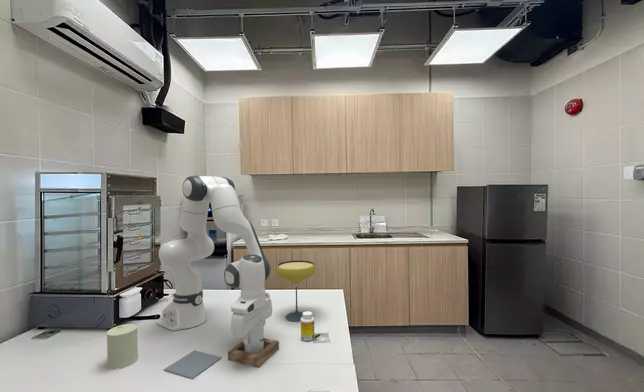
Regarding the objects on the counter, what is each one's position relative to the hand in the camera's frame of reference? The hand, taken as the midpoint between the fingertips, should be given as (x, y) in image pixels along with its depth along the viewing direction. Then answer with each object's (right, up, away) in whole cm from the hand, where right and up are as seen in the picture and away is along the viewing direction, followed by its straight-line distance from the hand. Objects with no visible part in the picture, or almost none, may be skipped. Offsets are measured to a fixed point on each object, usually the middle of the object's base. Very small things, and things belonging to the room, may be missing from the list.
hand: (254, 337), depth 108 cm
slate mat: (-20, -7, -6) cm, 21 cm away
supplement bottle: (+19, -6, +11) cm, 23 cm away
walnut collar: (0, -6, 0) cm, 6 cm away
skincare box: (0, -6, 0) cm, 6 cm away
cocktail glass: (+13, -6, +33) cm, 36 cm away
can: (-46, -7, -3) cm, 47 cm away
